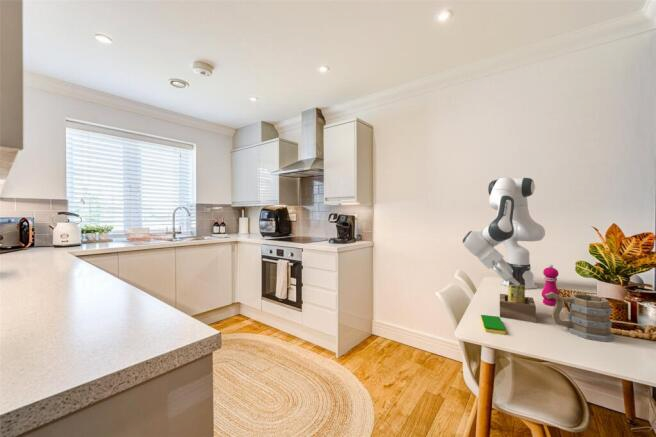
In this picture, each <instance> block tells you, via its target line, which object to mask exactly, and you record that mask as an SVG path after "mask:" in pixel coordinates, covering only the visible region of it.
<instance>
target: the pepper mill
mask: <svg viewBox="0 0 656 437" xmlns="http://www.w3.org/2000/svg"><path fill="white" fill-rule="evenodd" d="M542 274H543V276H544V280H545V281H544V282H545V284H544V287H543V289H542V291H541V297H542V303H543V304H544V305H546V306H548V307H549V306H550V307H555V304H556V299H555V298H553V297H552V298H549V299H548V298H547V297H546V296H545V294H548V293H550V292H553V293H555V294H557V295H559V296H561V295H560V292H559V289H558V287H557V281H558V278H557V277H558V276H559V271H558V269H556V268H554V265H552V264H549V265H548V267H545V268H544V269H543V271H542Z"/></svg>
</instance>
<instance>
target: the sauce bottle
mask: <svg viewBox="0 0 656 437" xmlns="http://www.w3.org/2000/svg"><path fill="white" fill-rule="evenodd" d="M512 268H513V273H512V274H513V277H514V278H515V279H516V280H517V281H518V282H519V283H520V285H519V286H516V285H515V284H513V283H512V282H510V281H509V286H508V292H507V293H508V294H507V295H508V302H516V303H523V304H524V301H525V297H526V289H525V280H524V278H523V275H522V271H523V266H520V265H513V266H512Z"/></svg>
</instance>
